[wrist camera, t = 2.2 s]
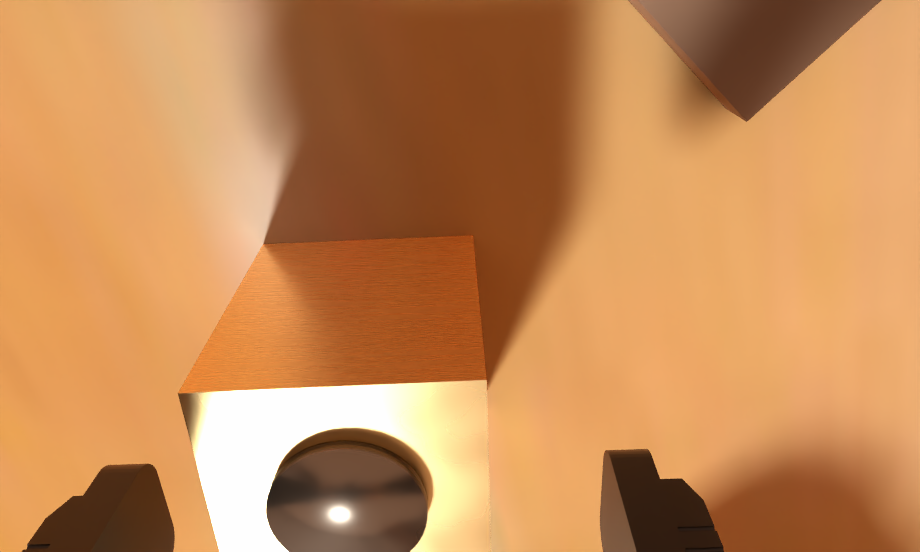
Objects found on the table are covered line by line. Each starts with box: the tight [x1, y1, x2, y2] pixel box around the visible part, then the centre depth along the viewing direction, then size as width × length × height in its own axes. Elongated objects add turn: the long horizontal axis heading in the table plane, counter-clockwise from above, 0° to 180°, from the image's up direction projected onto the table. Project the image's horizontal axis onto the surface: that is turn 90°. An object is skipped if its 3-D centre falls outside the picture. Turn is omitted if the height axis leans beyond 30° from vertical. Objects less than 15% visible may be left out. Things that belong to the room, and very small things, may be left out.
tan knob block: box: [178, 235, 491, 552], centre depth 15 cm, size 5×5×6 cm
